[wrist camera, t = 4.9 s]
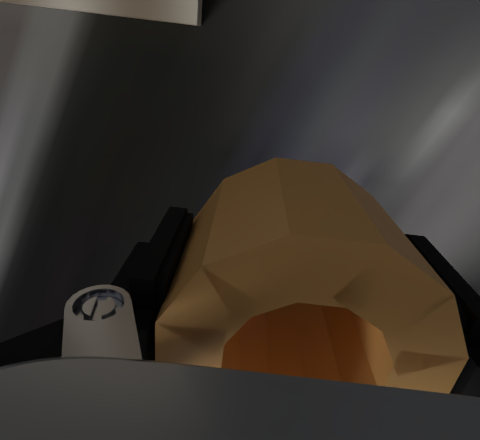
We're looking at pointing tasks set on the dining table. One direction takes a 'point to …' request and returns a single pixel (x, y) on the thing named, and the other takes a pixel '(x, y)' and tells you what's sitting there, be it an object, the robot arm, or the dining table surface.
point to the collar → (309, 286)
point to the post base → (130, 8)
